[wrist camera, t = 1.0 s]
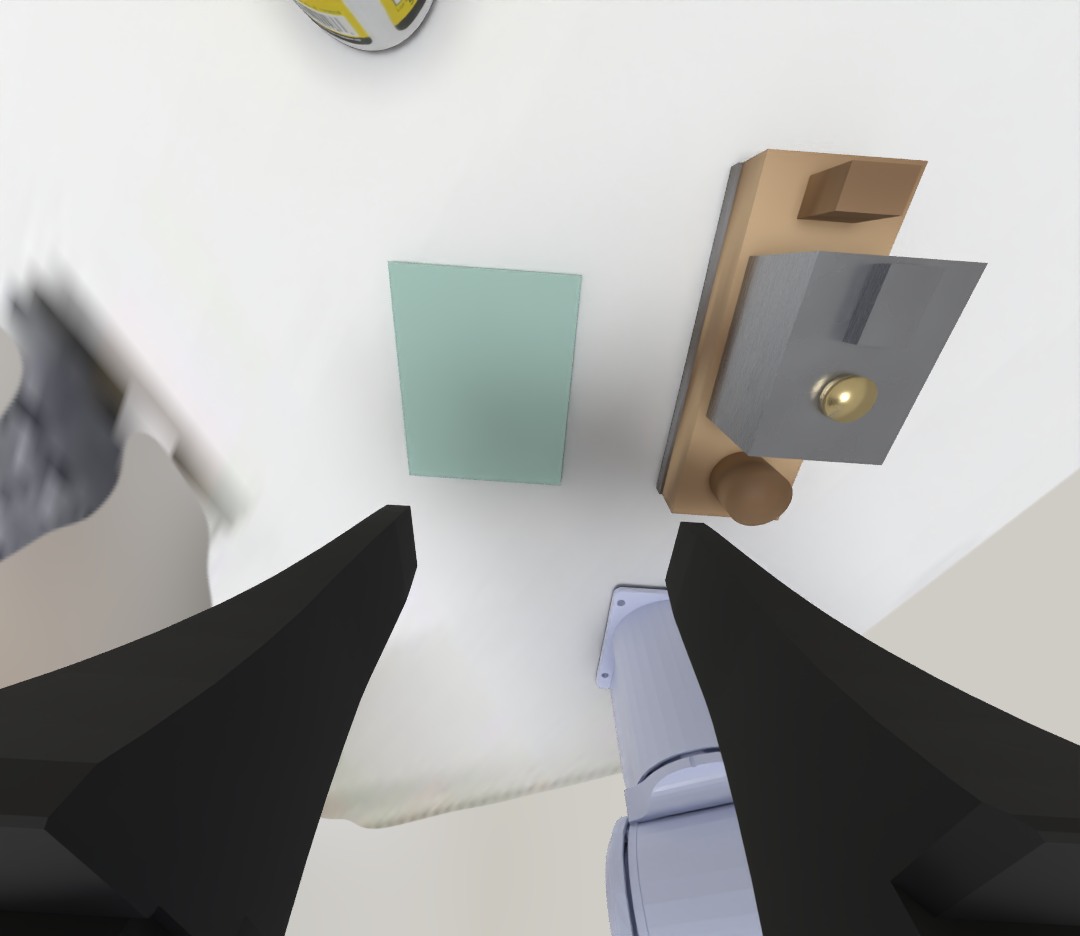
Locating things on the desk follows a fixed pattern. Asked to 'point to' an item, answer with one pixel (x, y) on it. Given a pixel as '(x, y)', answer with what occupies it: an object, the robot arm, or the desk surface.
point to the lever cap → (833, 351)
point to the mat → (484, 369)
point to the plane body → (743, 230)
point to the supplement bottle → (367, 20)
